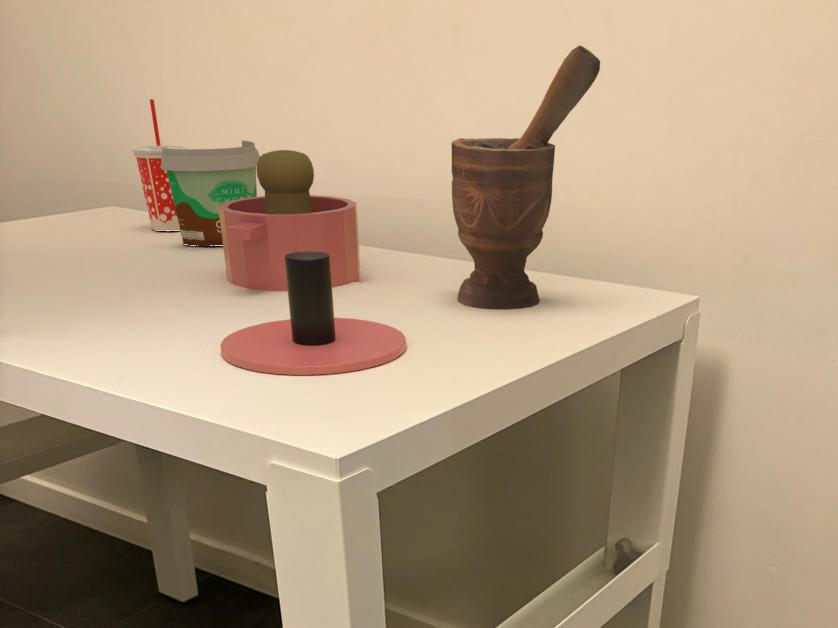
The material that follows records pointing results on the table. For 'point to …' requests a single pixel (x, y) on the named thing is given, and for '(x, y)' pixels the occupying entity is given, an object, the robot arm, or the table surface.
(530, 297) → the mortar and pestle
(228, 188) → the food container
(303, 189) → the cork
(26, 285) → the table surface
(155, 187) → the beverage cup
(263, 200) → the pot
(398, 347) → the lid
